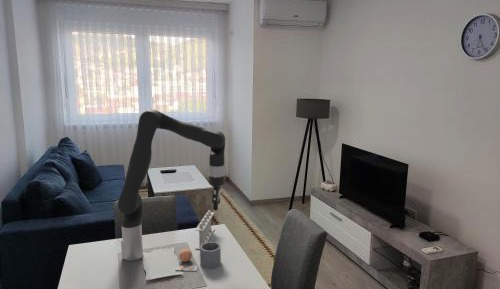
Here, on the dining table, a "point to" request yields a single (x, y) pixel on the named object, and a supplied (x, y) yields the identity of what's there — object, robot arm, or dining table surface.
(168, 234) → the dining table surface
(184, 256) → the ball
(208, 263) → the tube
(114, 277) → the dining table surface
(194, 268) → the card
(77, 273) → the dining table surface
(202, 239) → the test tube rack
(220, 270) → the dining table surface
